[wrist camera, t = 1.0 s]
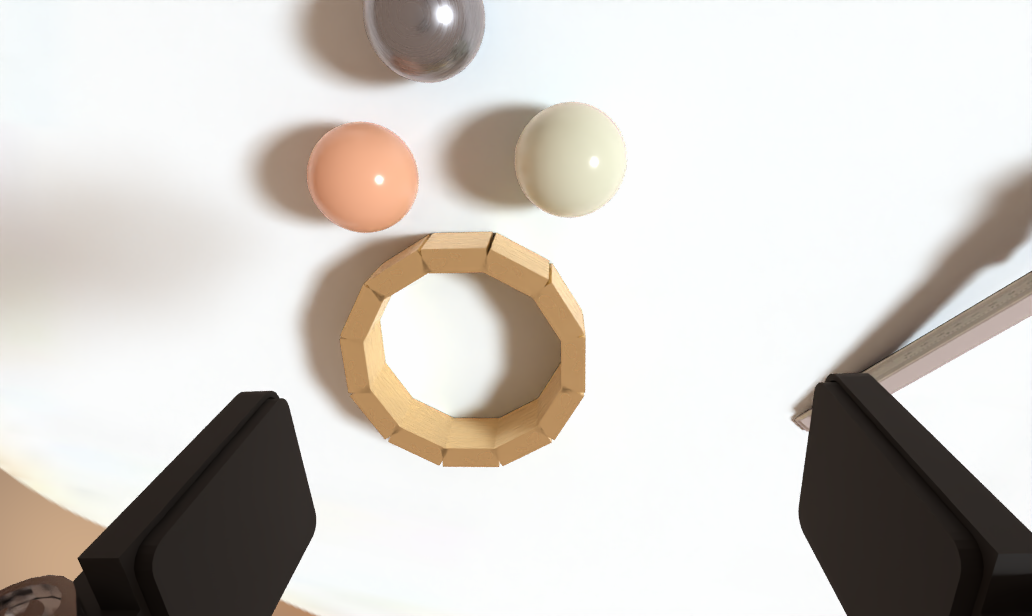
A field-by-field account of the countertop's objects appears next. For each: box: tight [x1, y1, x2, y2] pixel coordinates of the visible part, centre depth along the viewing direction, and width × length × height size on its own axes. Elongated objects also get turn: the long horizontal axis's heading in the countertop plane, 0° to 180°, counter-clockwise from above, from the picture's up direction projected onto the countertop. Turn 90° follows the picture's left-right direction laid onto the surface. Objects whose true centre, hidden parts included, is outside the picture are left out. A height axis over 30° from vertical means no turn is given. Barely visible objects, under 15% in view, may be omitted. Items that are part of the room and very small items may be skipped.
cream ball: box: [515, 102, 627, 218], centre depth 26 cm, size 5×5×5 cm
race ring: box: [340, 232, 585, 467], centre depth 31 cm, size 12×12×3 cm
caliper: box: [795, 271, 1032, 431], centre depth 28 cm, size 20×1×6 cm, turn 139°
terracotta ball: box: [307, 122, 419, 233], centre depth 27 cm, size 5×5×5 cm
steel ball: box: [363, 0, 485, 83], centre depth 25 cm, size 5×5×5 cm
